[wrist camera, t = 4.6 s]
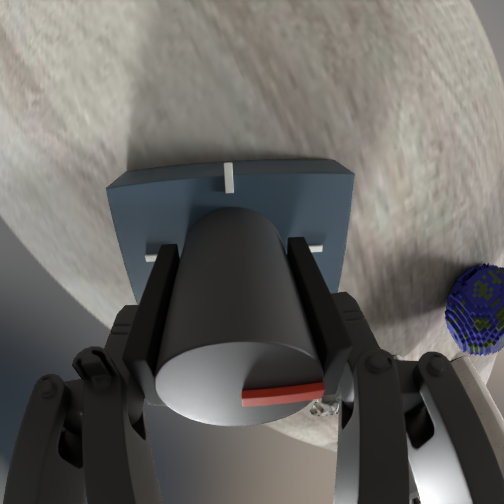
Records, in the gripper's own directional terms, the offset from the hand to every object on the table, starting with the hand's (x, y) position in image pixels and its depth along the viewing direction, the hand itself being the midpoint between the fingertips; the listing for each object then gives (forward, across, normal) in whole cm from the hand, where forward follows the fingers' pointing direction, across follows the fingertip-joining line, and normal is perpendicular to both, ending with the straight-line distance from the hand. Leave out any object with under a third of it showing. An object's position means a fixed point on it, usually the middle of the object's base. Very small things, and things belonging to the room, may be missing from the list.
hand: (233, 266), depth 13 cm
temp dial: (+1, 0, 0) cm, 1 cm away
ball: (+4, +22, -7) cm, 24 cm away
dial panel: (+4, 0, 0) cm, 4 cm away
